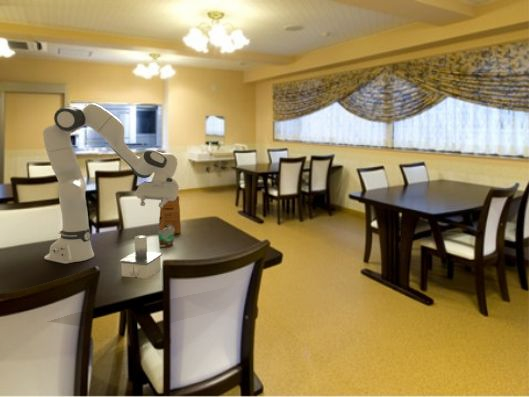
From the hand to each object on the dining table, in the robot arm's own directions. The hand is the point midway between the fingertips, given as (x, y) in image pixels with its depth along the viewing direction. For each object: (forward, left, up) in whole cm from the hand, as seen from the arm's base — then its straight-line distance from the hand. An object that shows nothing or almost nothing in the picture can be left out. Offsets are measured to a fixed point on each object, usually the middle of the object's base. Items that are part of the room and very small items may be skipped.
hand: (151, 206), depth 183 cm
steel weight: (+3, -15, -19) cm, 25 cm away
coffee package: (-14, +47, -27) cm, 56 cm away
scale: (+3, -15, -27) cm, 31 cm away
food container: (-3, +23, -27) cm, 35 cm away
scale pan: (+3, -15, -20) cm, 26 cm away
